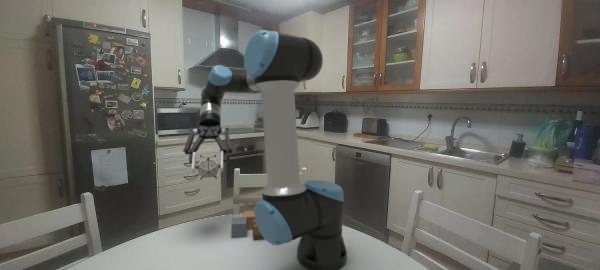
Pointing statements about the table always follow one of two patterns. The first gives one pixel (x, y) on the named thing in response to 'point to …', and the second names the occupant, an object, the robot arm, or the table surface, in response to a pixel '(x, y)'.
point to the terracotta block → (249, 218)
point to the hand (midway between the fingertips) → (207, 170)
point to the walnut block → (256, 232)
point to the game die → (208, 166)
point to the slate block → (238, 227)
